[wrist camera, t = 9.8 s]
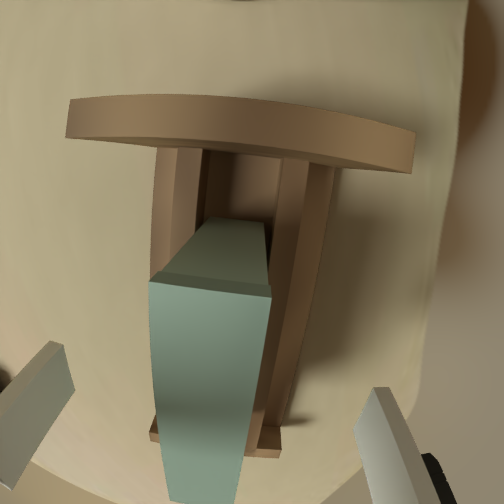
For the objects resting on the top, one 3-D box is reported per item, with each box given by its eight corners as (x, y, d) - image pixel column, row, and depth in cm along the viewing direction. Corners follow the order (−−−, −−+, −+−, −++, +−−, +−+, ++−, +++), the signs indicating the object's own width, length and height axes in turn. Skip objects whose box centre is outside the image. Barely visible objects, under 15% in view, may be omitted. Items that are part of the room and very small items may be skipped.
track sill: (160, 411, 23) (128, 505, 13) (164, 128, 17) (70, 99, 7) (277, 427, 23) (281, 527, 13) (333, 147, 17) (416, 132, 7)
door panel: (198, 383, 20) (170, 500, 11) (209, 215, 17) (148, 281, 7) (241, 389, 20) (232, 509, 11) (264, 222, 17) (271, 298, 7)
